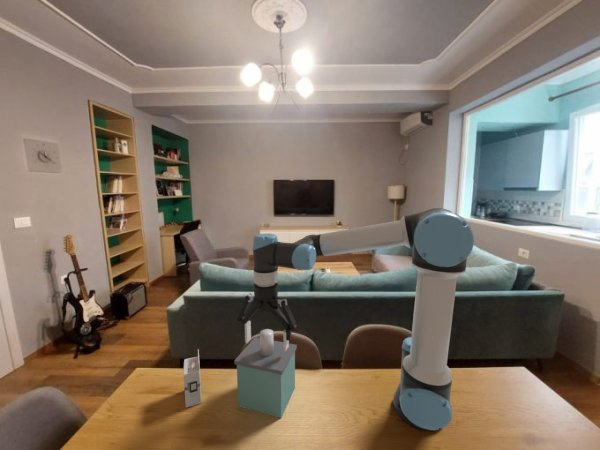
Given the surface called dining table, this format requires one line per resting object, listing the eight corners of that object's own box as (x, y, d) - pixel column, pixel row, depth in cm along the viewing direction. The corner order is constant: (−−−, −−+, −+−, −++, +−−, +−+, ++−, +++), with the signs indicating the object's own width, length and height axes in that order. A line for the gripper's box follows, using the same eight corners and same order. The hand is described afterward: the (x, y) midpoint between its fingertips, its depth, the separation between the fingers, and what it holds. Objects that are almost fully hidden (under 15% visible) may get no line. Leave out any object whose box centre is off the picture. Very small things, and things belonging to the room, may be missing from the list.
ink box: (185, 389, 94) (183, 350, 91) (200, 385, 95) (198, 347, 93) (185, 408, 86) (182, 366, 84) (201, 403, 87) (199, 362, 85)
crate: (294, 387, 94) (294, 348, 92) (281, 418, 82) (281, 373, 80) (256, 378, 99) (255, 341, 97) (238, 406, 87) (236, 363, 84)
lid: (296, 352, 93) (296, 325, 91) (282, 379, 80) (281, 349, 78) (254, 343, 98) (254, 318, 96) (234, 368, 84) (233, 340, 83)
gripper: (306, 283, 85) (306, 345, 88) (237, 274, 92) (238, 332, 95) (299, 291, 78) (299, 359, 81) (224, 282, 85) (227, 344, 88)
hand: (266, 344), depth 88 cm, fingers open, 13 cm apart
